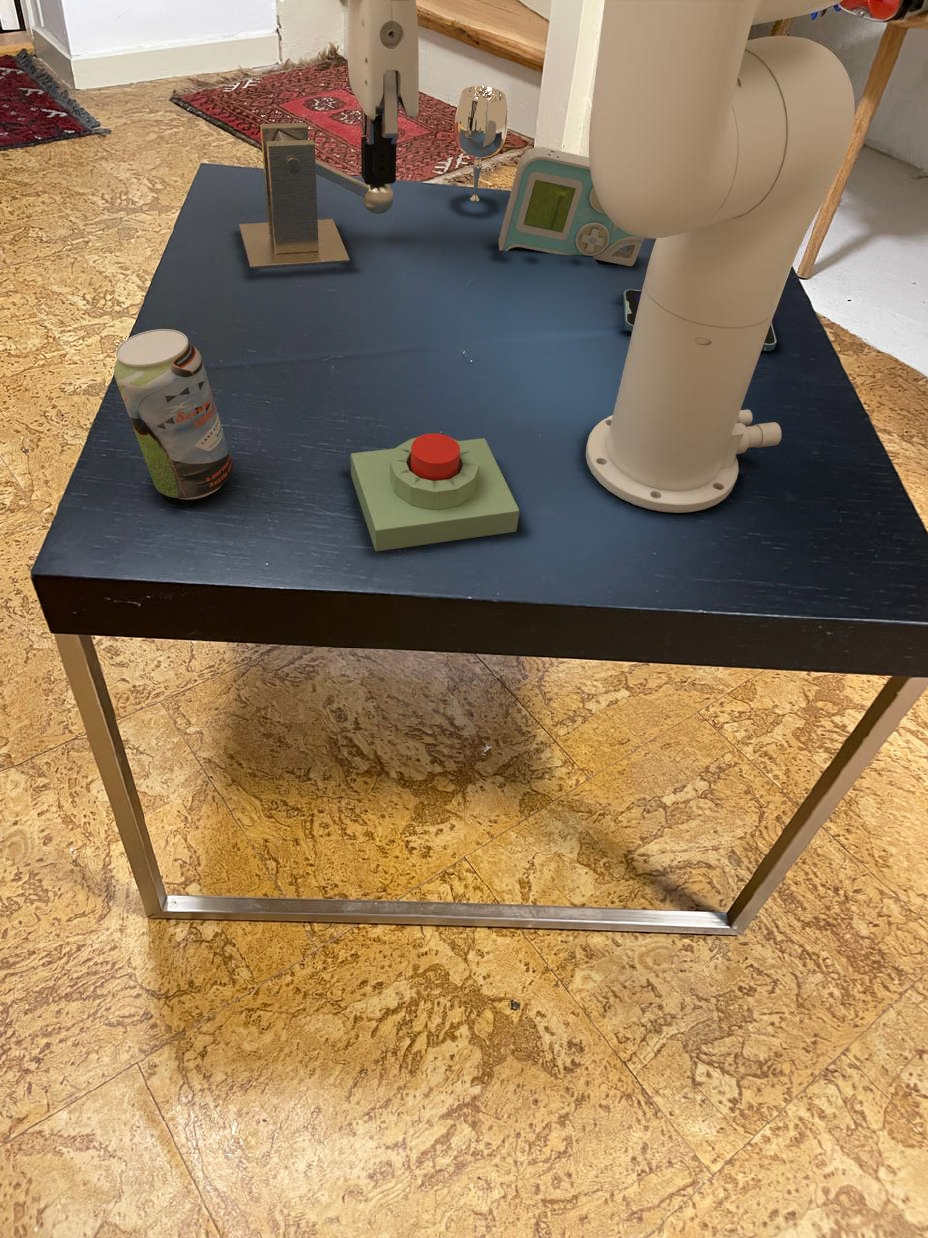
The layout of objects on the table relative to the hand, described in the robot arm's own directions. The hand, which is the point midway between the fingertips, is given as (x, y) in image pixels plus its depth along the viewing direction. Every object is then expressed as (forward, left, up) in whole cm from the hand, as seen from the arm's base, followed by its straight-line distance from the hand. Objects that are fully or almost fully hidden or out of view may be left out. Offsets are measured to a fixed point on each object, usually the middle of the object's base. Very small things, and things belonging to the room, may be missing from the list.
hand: (378, 180), depth 96 cm
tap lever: (+5, 0, -1) cm, 5 cm away
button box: (+5, +41, -7) cm, 42 cm away
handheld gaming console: (-20, +5, -7) cm, 22 cm away
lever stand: (+9, 0, -7) cm, 11 cm away
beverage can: (+23, +35, -7) cm, 42 cm away
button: (+5, +41, -3) cm, 41 cm away
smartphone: (-28, +20, -7) cm, 35 cm away
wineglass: (-13, -8, -7) cm, 17 cm away
